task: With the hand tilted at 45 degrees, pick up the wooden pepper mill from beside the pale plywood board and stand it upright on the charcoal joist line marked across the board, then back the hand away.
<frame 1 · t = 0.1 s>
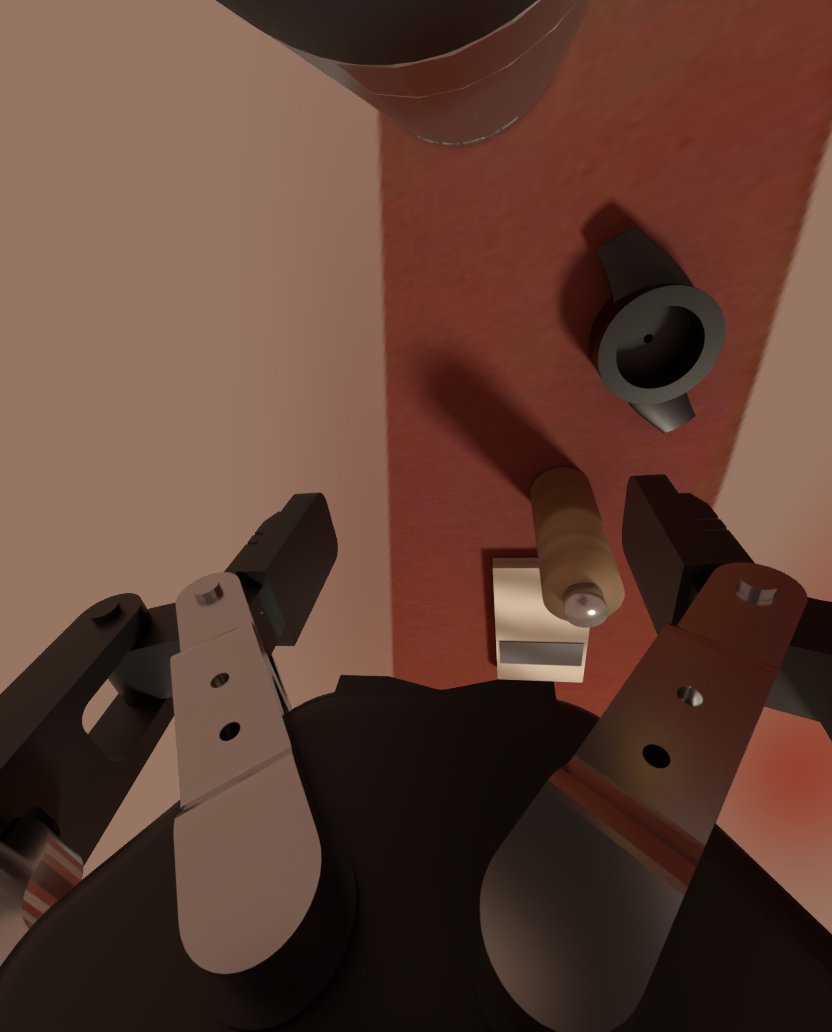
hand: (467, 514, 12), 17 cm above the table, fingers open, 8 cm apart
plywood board: (540, 619, 39), on the table
black winged cup: (642, 333, 25), on the table
wooden pepper mill: (560, 491, 31), on the table
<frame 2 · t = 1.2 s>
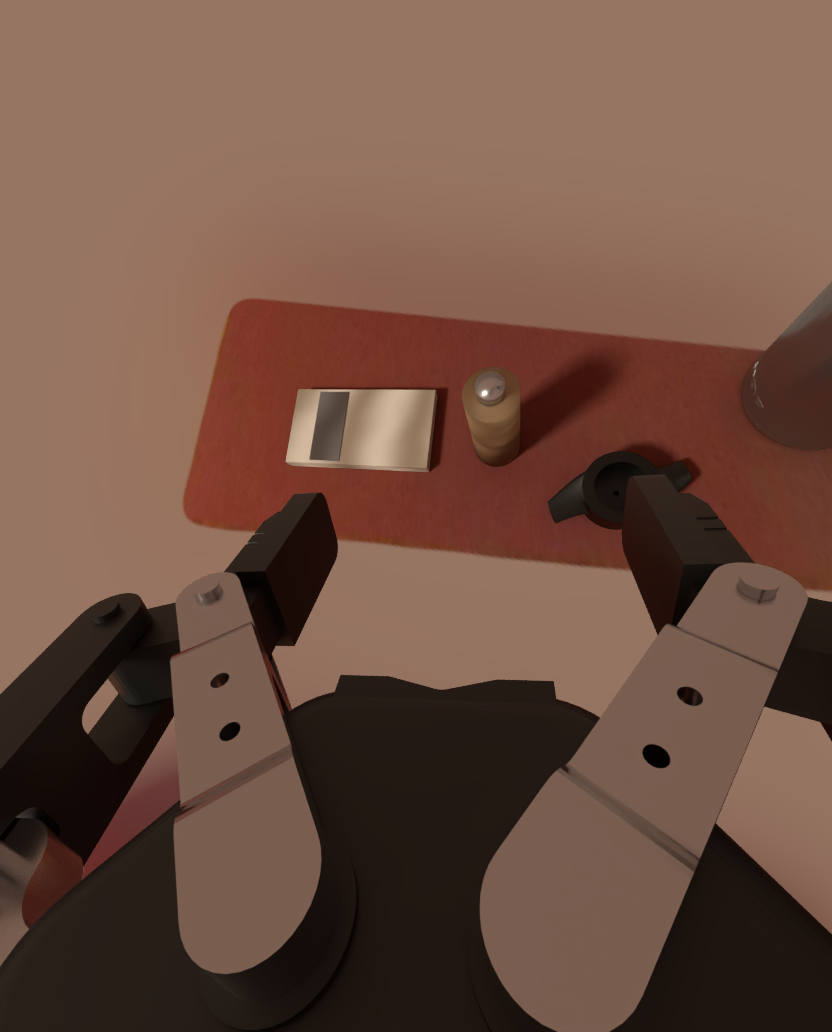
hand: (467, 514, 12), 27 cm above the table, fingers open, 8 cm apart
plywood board: (363, 431, 44), on the table
black winged cup: (613, 496, 38), on the table
wooden pepper mill: (497, 445, 41), on the table
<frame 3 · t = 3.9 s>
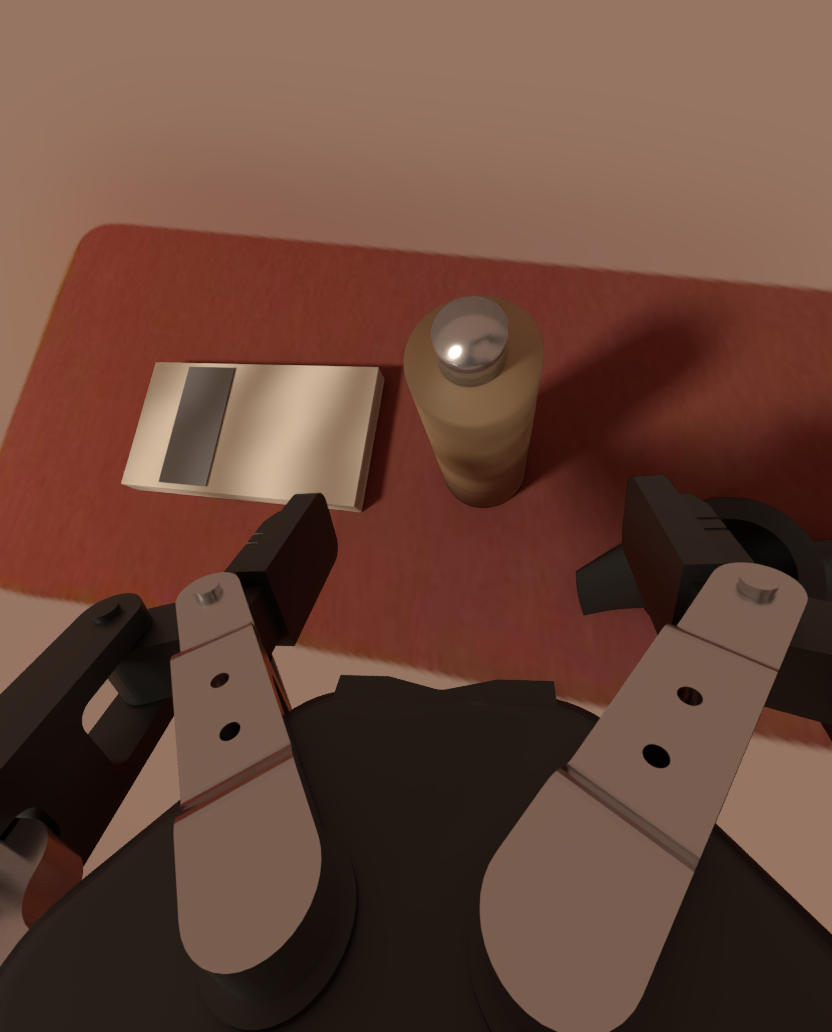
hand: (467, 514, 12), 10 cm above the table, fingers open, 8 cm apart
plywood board: (257, 436, 26), on the table
black winged cup: (702, 579, 20), on the table
wooden pepper mill: (483, 469, 22), on the table
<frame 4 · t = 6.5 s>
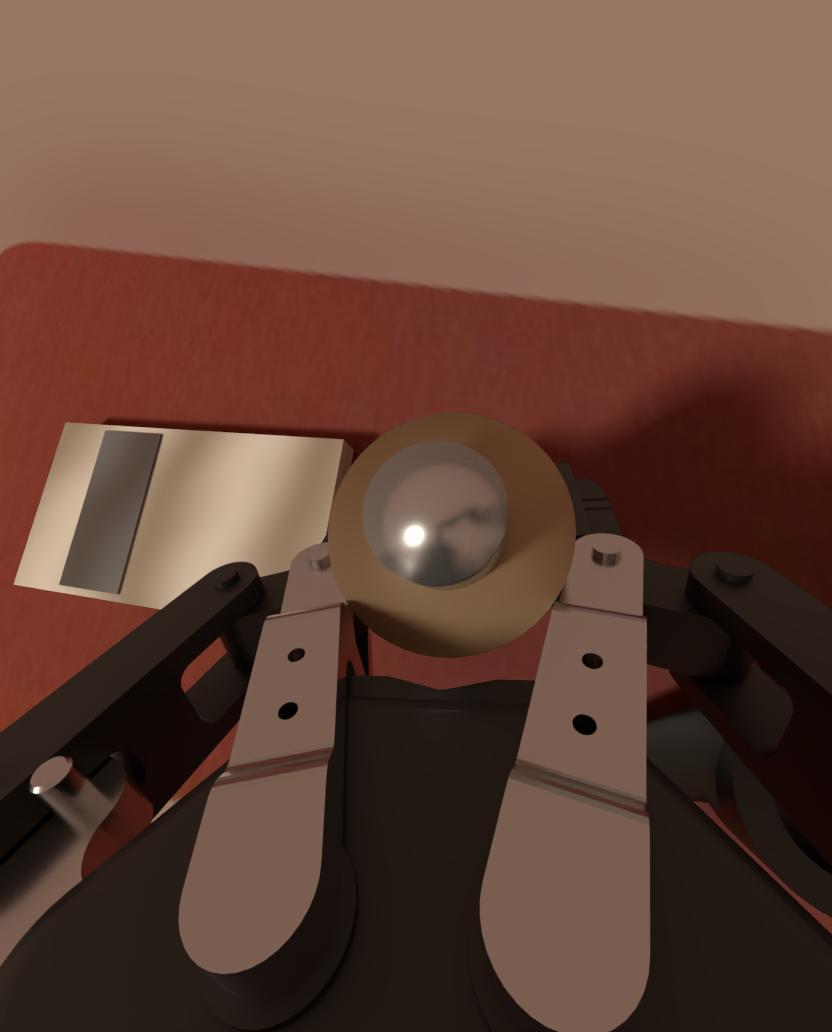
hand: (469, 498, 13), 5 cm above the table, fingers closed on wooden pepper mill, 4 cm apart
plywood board: (190, 521, 20), on the table
black winged cup: (790, 760, 14), on the table
wooden pepper mill: (481, 581, 17), on the table, touching gripper
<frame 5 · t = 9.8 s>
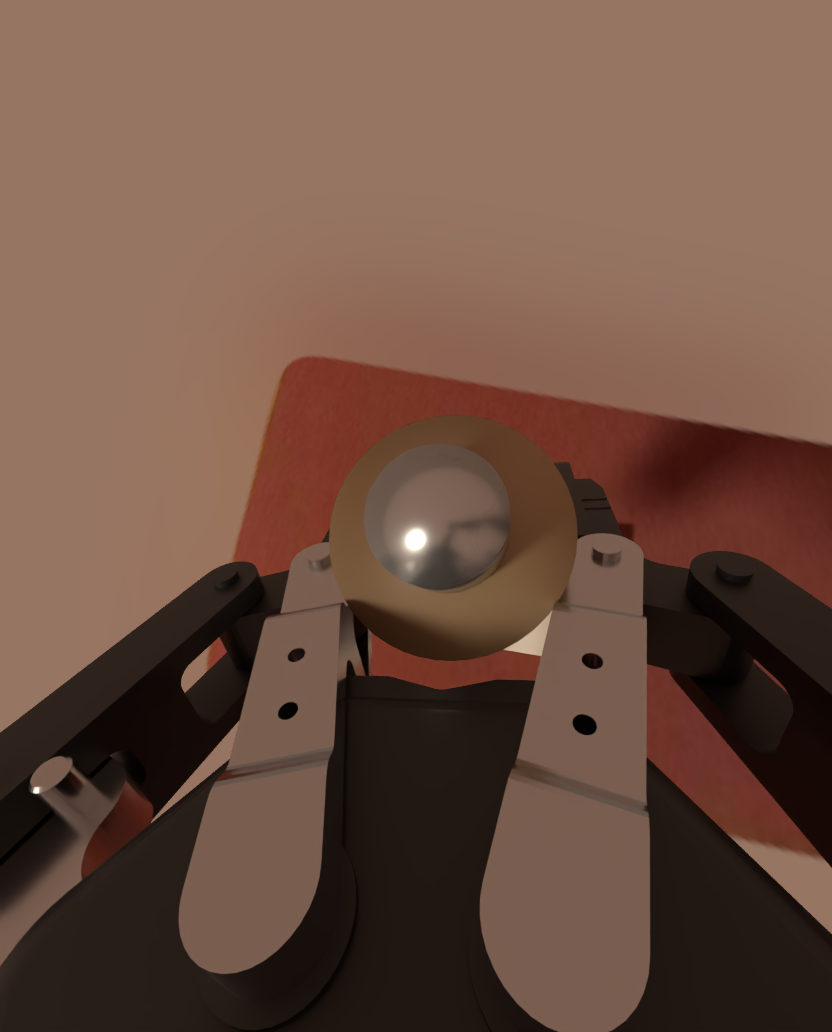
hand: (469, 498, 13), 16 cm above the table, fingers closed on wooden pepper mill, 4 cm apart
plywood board: (492, 582, 28), on the table
wooden pepper mill: (482, 582, 17), point 12 cm above the table, touching gripper
when the fingers open (7 cm above the table, at t = 13.0 s): wooden pepper mill drops 1 cm, resting on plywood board.
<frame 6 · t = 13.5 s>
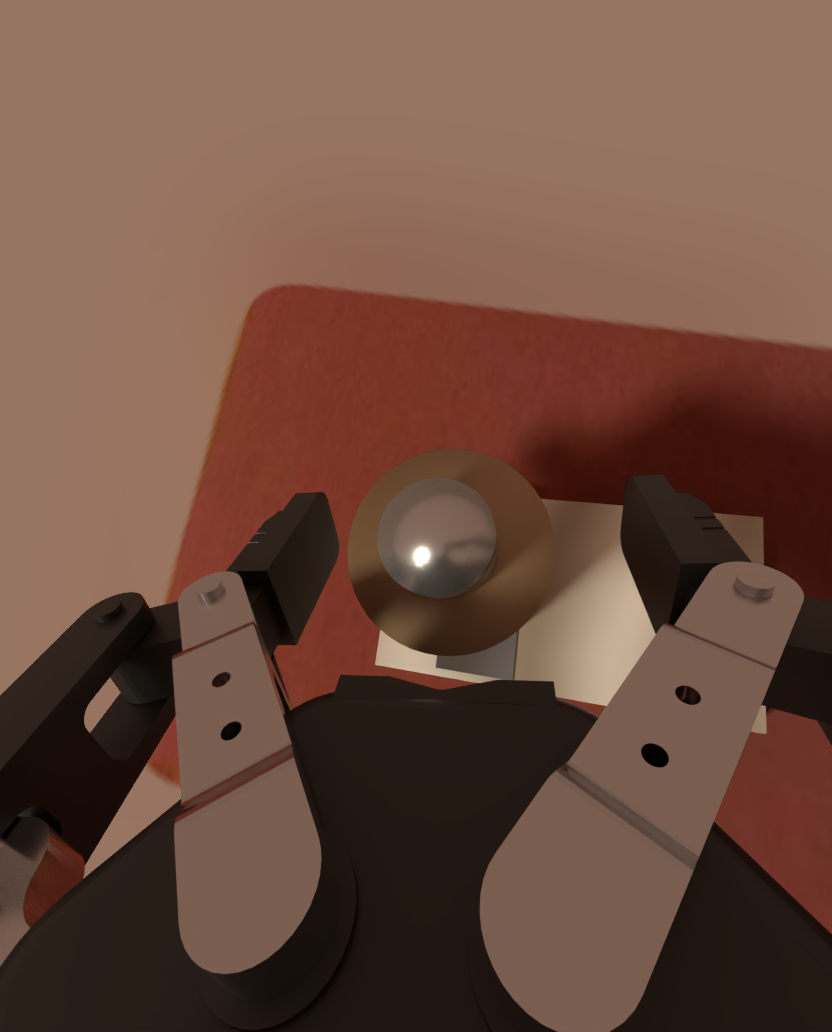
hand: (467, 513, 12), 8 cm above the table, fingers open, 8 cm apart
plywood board: (557, 596, 19), on the table
wooden pepper mill: (484, 588, 18), point 1 cm above the table, touching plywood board
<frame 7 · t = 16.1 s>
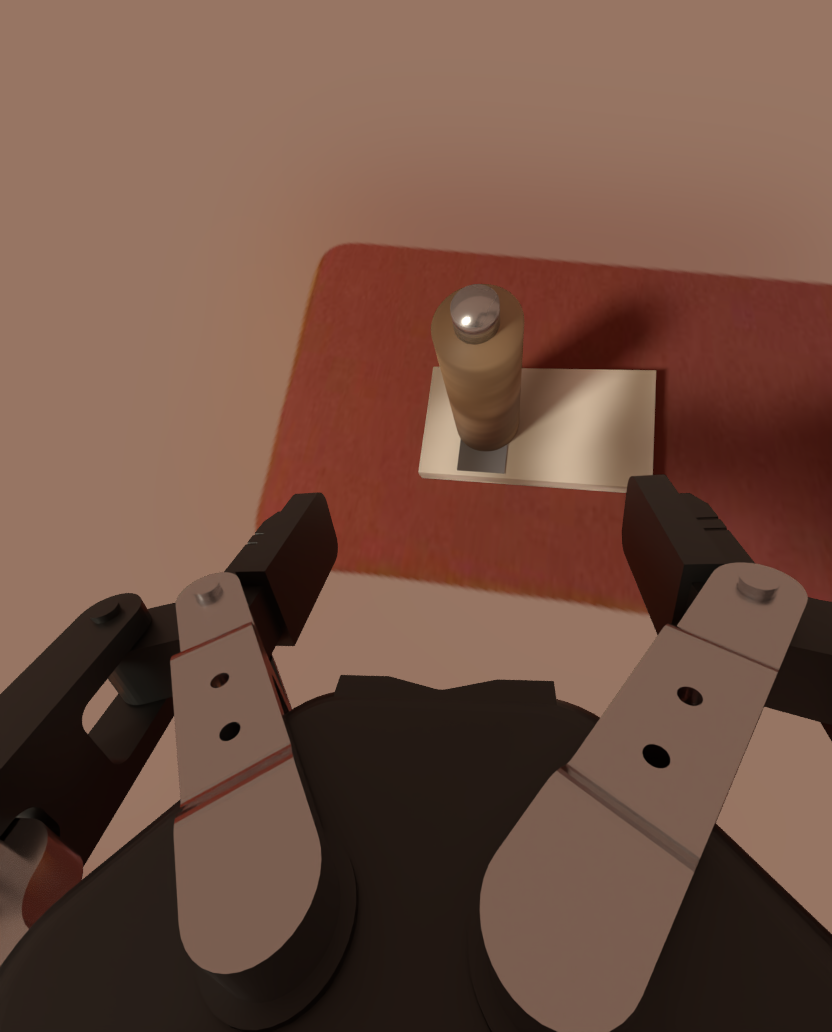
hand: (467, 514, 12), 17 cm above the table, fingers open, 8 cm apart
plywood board: (532, 430, 30), on the table
wooden pepper mill: (487, 422, 29), point 1 cm above the table, touching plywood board
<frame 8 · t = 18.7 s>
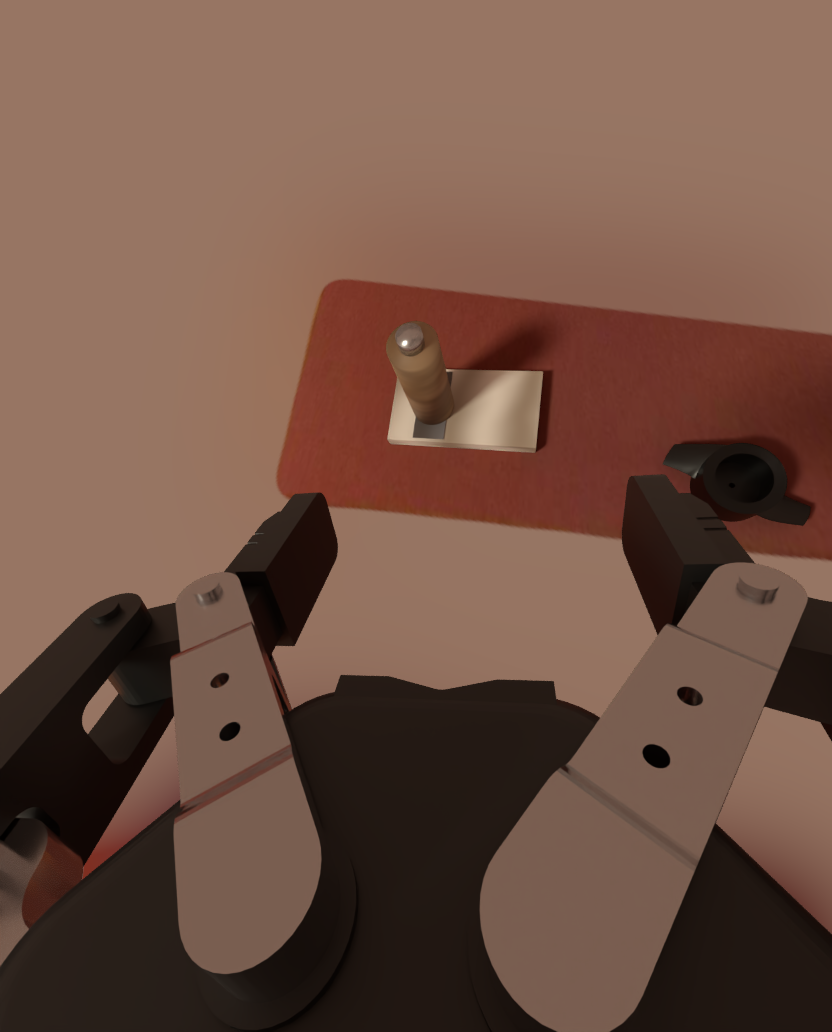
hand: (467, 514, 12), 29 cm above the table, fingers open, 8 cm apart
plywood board: (464, 411, 44), on the table
black winged cup: (725, 489, 38), on the table
wooden pepper mill: (433, 405, 43), point 1 cm above the table, touching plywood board
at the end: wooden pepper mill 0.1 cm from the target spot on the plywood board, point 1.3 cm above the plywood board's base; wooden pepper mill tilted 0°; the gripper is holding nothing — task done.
